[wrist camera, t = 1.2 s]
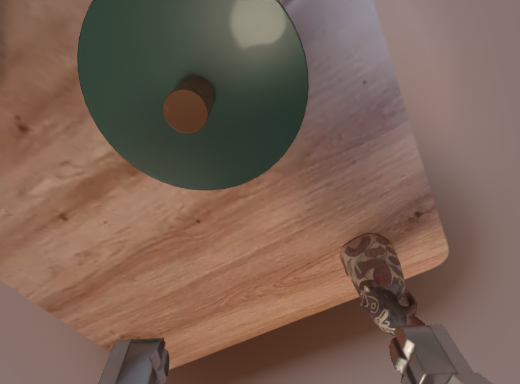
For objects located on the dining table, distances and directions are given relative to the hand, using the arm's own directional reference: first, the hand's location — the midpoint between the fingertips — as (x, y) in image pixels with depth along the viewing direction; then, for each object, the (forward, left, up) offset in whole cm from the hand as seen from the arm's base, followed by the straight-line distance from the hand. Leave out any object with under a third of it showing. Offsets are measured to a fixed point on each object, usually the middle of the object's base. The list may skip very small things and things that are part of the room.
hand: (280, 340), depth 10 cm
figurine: (-14, +20, -24) cm, 34 cm away
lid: (+4, -5, -16) cm, 17 cm away
